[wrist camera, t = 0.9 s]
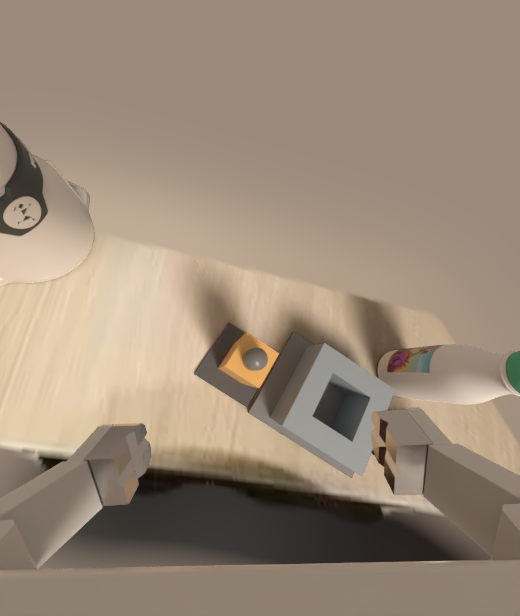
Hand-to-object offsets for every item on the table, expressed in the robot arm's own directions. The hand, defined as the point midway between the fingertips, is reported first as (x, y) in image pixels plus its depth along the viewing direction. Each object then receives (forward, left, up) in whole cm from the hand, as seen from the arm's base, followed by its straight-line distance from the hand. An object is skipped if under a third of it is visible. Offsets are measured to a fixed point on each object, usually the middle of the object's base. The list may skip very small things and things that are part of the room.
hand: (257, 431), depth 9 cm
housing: (+15, +7, -29) cm, 34 cm away
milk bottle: (+25, +18, -30) cm, 43 cm away
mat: (+1, +5, -29) cm, 30 cm away
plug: (+1, +5, -29) cm, 30 cm away
